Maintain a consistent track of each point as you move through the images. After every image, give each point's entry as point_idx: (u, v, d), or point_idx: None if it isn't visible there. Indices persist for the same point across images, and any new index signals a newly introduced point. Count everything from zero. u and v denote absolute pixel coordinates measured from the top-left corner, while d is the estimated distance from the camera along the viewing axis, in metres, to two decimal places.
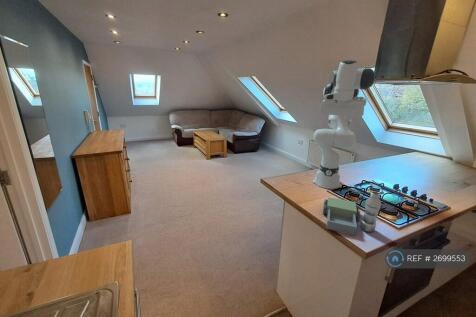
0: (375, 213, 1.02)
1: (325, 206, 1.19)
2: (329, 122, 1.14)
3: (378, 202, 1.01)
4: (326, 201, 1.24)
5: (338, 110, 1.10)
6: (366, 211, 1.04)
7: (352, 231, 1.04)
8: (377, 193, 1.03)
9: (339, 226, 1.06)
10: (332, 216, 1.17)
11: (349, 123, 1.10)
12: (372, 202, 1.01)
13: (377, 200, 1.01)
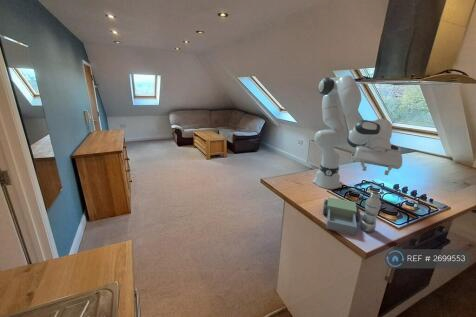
0: (375, 213, 1.02)
1: (325, 206, 1.19)
2: (385, 173, 1.07)
3: (378, 202, 1.01)
4: (326, 201, 1.24)
5: None
6: (366, 211, 1.04)
7: (352, 231, 1.04)
8: (377, 193, 1.03)
9: (339, 226, 1.06)
10: (332, 216, 1.17)
11: None
12: (372, 202, 1.01)
13: (377, 200, 1.01)
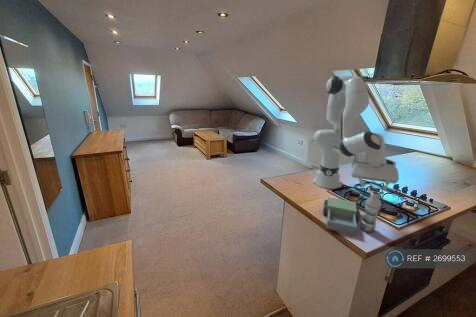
0: (375, 213, 1.02)
1: (325, 206, 1.19)
2: None
3: (378, 202, 1.01)
4: (326, 201, 1.24)
5: None
6: (366, 211, 1.04)
7: (352, 231, 1.04)
8: (377, 193, 1.03)
9: (339, 226, 1.06)
10: (332, 216, 1.17)
11: None
12: (372, 202, 1.01)
13: (377, 200, 1.01)
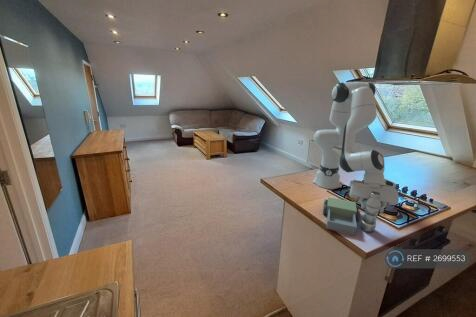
0: (375, 213, 1.02)
1: (325, 206, 1.19)
2: None
3: (378, 202, 1.01)
4: (326, 201, 1.24)
5: None
6: (366, 211, 1.04)
7: (352, 231, 1.04)
8: (377, 193, 1.03)
9: (339, 226, 1.06)
10: (332, 216, 1.17)
11: None
12: (372, 202, 1.01)
13: (377, 200, 1.01)
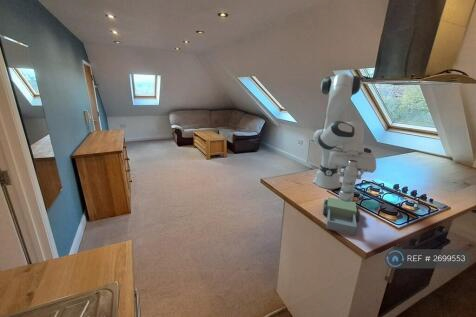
0: (352, 181, 1.01)
1: (325, 206, 1.19)
2: None
3: (355, 170, 1.00)
4: (326, 201, 1.24)
5: None
6: (344, 180, 1.03)
7: (352, 231, 1.04)
8: (354, 161, 1.02)
9: (339, 226, 1.06)
10: (332, 216, 1.17)
11: None
12: (349, 170, 1.00)
13: (354, 168, 1.00)
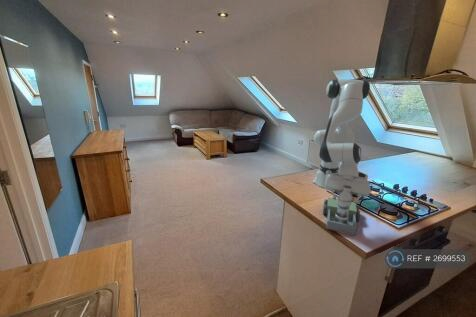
0: (347, 206, 1.05)
1: (325, 206, 1.19)
2: None
3: (349, 196, 1.04)
4: (326, 201, 1.24)
5: None
6: (339, 205, 1.08)
7: (352, 231, 1.04)
8: (349, 187, 1.06)
9: (339, 226, 1.06)
10: (332, 216, 1.17)
11: None
12: (344, 196, 1.05)
13: (348, 194, 1.04)
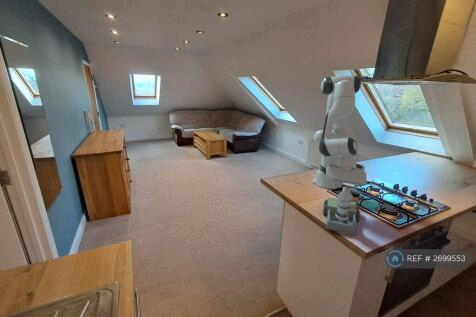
0: (347, 206, 1.05)
1: (325, 206, 1.19)
2: None
3: (349, 196, 1.04)
4: (326, 201, 1.24)
5: None
6: (339, 205, 1.08)
7: (352, 231, 1.04)
8: (349, 187, 1.06)
9: (339, 226, 1.06)
10: (332, 216, 1.17)
11: None
12: (344, 196, 1.05)
13: (348, 194, 1.04)
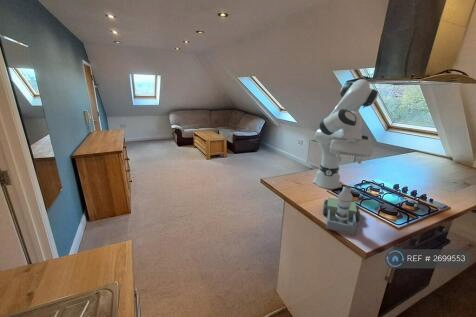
0: (347, 206, 1.05)
1: (325, 206, 1.19)
2: (358, 162, 1.13)
3: (349, 196, 1.04)
4: (326, 201, 1.24)
5: None
6: (339, 205, 1.08)
7: (352, 231, 1.04)
8: (349, 187, 1.06)
9: (339, 226, 1.06)
10: (332, 216, 1.17)
11: None
12: (344, 196, 1.05)
13: (348, 194, 1.04)
